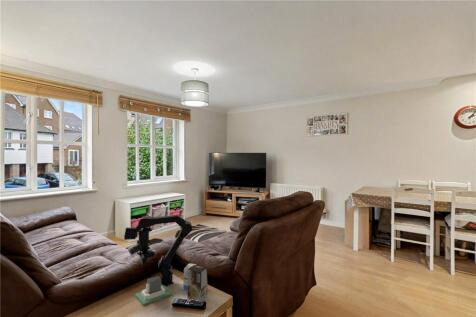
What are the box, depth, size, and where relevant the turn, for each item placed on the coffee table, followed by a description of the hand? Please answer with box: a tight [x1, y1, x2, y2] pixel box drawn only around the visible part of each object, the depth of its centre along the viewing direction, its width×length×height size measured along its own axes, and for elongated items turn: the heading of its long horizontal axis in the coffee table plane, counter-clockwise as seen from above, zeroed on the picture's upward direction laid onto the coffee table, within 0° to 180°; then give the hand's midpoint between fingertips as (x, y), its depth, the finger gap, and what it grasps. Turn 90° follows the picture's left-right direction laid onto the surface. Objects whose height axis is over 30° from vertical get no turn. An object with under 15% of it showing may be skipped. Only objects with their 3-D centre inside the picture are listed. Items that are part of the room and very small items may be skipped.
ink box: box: [182, 263, 197, 291], centre depth 143 cm, size 8×5×12 cm, turn 168°
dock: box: [134, 285, 173, 307], centre depth 133 cm, size 16×12×3 cm
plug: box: [145, 275, 161, 294], centre depth 133 cm, size 7×4×8 cm, turn 131°
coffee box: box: [186, 264, 209, 302], centre depth 132 cm, size 9×6×16 cm
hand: (143, 265), depth 143 cm, fingers closed
